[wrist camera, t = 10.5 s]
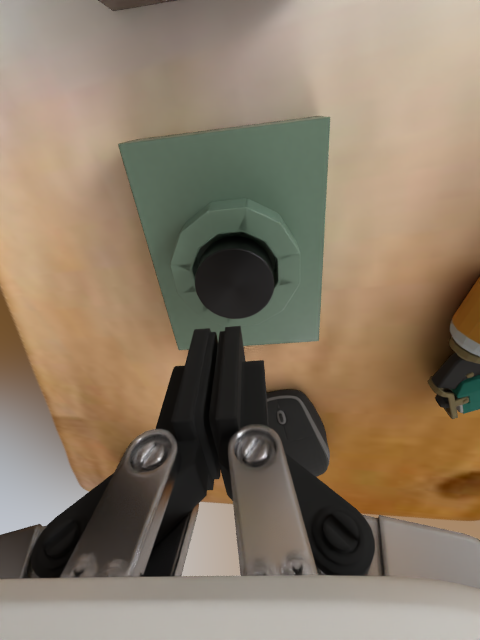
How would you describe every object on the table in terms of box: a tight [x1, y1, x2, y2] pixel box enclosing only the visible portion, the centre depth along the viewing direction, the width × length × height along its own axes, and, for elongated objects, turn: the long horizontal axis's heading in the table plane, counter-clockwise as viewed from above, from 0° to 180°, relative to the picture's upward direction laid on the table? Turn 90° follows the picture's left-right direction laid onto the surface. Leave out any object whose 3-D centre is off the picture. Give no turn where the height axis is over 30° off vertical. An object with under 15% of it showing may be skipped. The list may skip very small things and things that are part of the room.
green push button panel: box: [118, 116, 330, 350], centre depth 18 cm, size 13×10×4 cm
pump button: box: [195, 236, 274, 319], centre depth 16 cm, size 4×4×2 cm
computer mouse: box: [266, 390, 330, 477], centre depth 29 cm, size 7×12×4 cm, turn 17°
